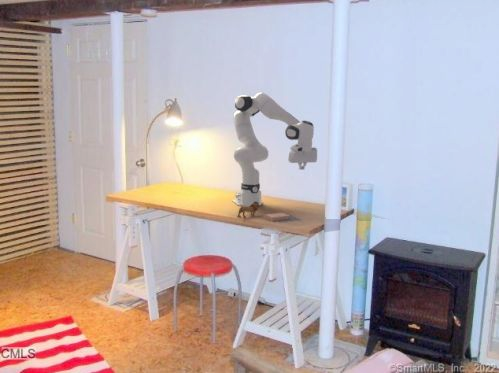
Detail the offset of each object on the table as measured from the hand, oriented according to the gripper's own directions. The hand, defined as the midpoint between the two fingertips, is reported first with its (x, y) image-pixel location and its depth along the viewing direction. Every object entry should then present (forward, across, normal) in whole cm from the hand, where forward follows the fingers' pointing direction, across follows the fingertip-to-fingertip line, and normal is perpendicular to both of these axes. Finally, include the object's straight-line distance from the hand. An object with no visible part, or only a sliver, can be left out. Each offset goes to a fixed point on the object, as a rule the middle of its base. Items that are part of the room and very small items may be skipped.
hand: (301, 169), depth 340 cm
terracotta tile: (+25, +18, +12) cm, 33 cm away
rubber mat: (+27, +19, +12) cm, 35 cm away
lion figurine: (+29, +34, -3) cm, 45 cm away
